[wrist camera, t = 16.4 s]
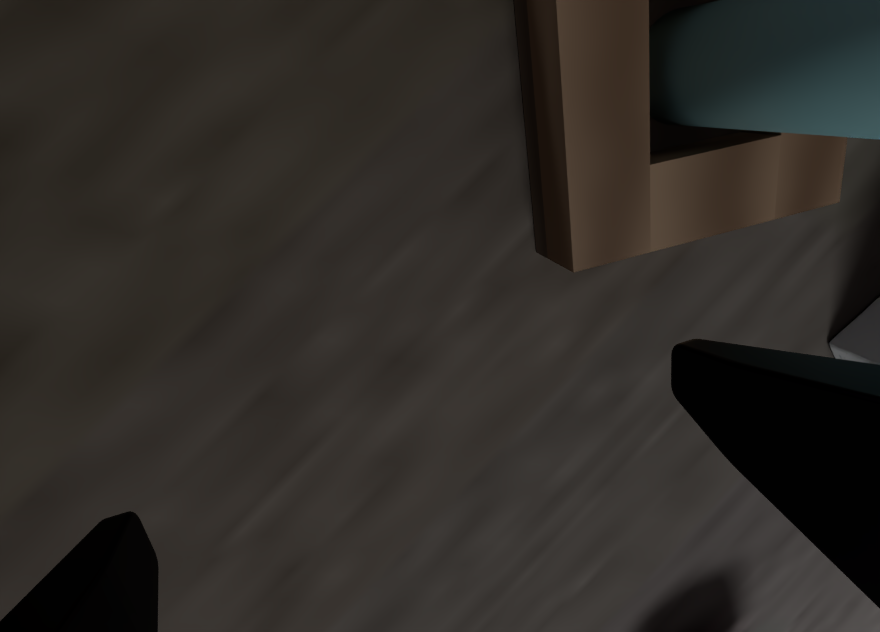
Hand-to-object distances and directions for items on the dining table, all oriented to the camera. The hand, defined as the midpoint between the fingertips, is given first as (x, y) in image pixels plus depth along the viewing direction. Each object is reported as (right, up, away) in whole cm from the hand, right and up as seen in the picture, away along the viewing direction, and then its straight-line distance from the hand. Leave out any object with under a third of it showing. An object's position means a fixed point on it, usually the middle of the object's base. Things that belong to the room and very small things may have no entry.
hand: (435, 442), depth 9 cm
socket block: (+9, +12, +13) cm, 20 cm away
